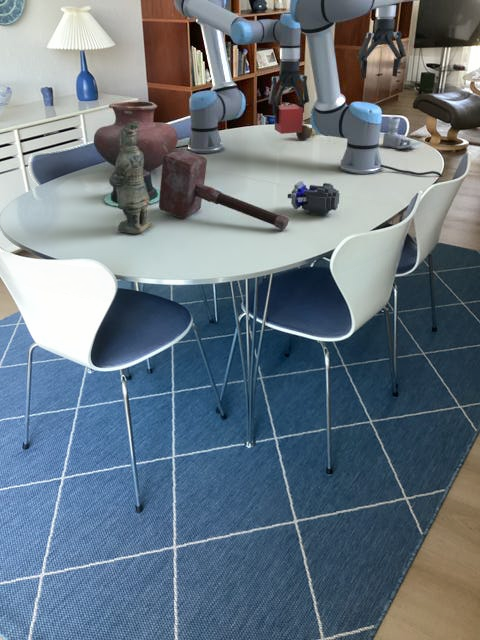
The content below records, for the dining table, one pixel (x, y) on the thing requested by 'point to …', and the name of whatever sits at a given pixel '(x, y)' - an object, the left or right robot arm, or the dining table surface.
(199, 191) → the sledgehammer
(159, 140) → the clay pot
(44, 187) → the dining table surface
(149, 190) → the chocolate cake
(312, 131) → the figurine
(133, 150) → the statue
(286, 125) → the block
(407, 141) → the grey boot
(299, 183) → the toy
